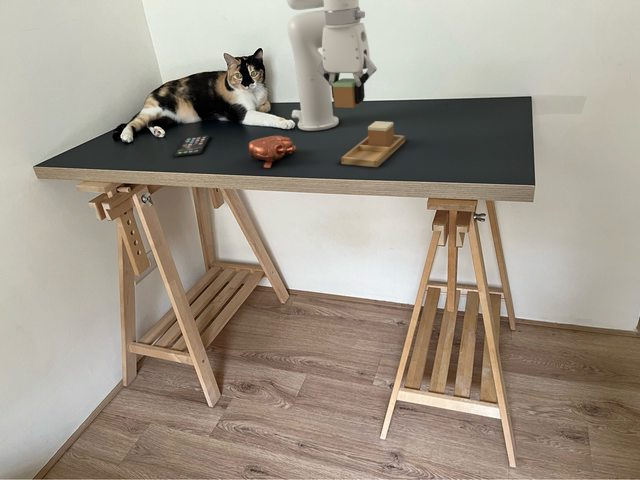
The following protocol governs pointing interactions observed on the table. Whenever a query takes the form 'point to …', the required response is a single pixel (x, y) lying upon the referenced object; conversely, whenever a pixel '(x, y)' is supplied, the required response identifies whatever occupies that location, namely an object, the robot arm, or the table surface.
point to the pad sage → (344, 93)
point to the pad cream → (381, 134)
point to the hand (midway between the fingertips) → (348, 101)
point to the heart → (271, 149)
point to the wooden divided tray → (371, 153)
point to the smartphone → (192, 145)
